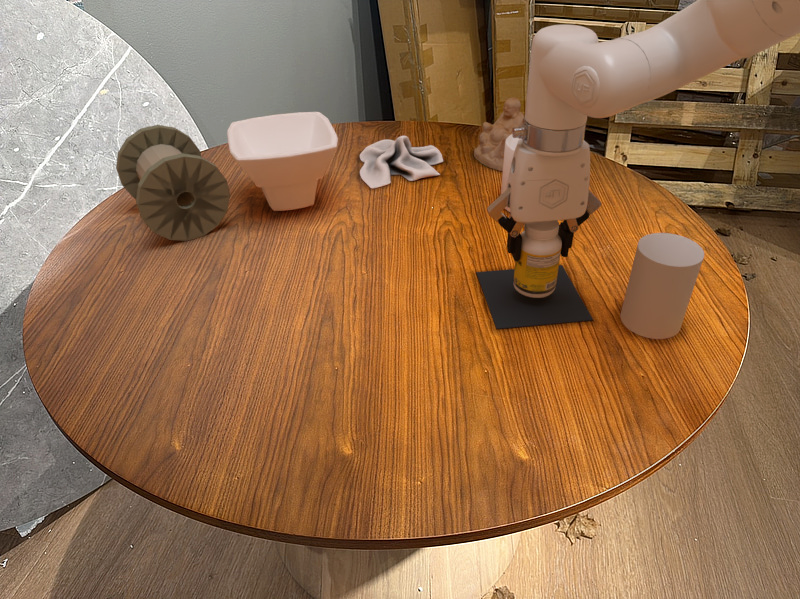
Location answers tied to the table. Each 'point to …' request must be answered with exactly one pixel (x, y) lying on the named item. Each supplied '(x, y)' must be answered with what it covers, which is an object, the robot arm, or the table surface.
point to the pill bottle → (538, 259)
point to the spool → (172, 183)
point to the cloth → (397, 161)
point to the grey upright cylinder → (661, 284)
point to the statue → (498, 135)
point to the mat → (531, 302)
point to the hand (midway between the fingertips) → (538, 253)
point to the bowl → (284, 155)
